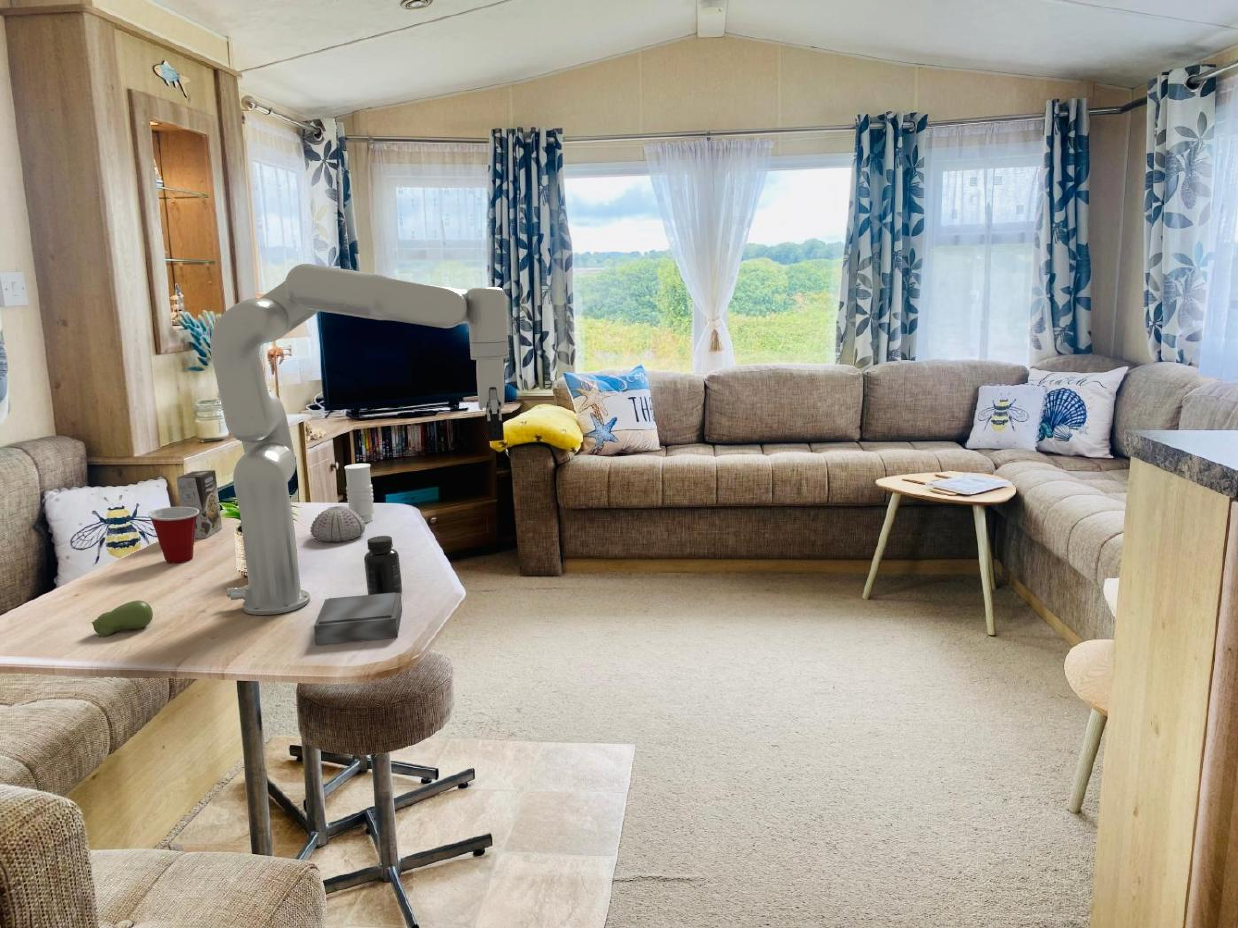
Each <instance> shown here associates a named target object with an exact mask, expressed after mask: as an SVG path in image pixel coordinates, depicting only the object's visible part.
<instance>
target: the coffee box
mask: <svg viewBox="0 0 1238 928" xmlns="http://www.w3.org/2000/svg"><path fill="white" fill-rule="evenodd" d="M217 484H218V483H217V474H216V470H213V469H212V470H211V469H210V470H199V471H197V470H196V471H190V472H188V473H185V474H183V475H181V476H178V477H176V485H177V495H178V502H179V507H192V508H196V509H198V510H199V514H198V516H197V520H196V524H195V536H194V539H207V538H209V537H211V536H213V535H215V534H216V533H218V532H219V531H221V530H222V529H223V524H222V523H223V522H222V515H221V507H220V500H219V492H218V485H217ZM218 502H219V504H218Z"/></svg>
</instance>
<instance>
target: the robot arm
mask: <svg viewBox="0 0 1238 928" xmlns="http://www.w3.org/2000/svg"><path fill="white" fill-rule="evenodd" d="M319 312H322V313H323V312H324V313H331V314H337V315H344V316H351V317H359V318H363V319H370V320H371V319H372V320H377V321H393V322H394V321H395V322H399V323H400V322H403V323H408V324H415V325H421V326H428V327H434V328H442V329H451V328H455V327H456V326H458V325H464V324H468V333H469V334H468V335H469V349H470V351H469V353H470V360H473V361H476V364H475V365H476V367H475V368H476V387H477V389H476V390H477V400H478V402H477V403H478V409H479V410H480V411H483V410H484V409H485V413H484V419H485V420H484V423H485V433H486V438H487V441H488V442H500V441H501V442H503V441H504V440H505V433H504V430H505V429H504V420H503V419H502V418H503V417H502V415H503V414H502V410H503V409H504V407H505V368H504V360H505V359H508V358H509V359H510V347H509V346H510V345H509V332H508V313H507V297H506V292H505V290H504V289H503V288H501V287H497V286H487V287H486V286H485V287H484V286H483V287H482V286H481V287H474V288H470V289H468V288H467V289H464V288H454V287H450V286H448V287H446V286H439V285H431V284H425V283H417V282H412V281H405V280H400V279H395V278H391V277H388V276H386V275H383V274H377V273H373V272H367V271H366V272H365V271H359V270H352V269H345V268H340V267H339V268H338V267H333V266H327V265H319V264H314V263H313V264H312V263H300V264H299V265H295V266H294V267H292V268H291V269H290V270H289V272H288V273H287V275H286V277H285V280H284V281H283V282H281V283H280V284H279V285H277V286H275V287H274V288H272V289H271V290H270V291H268V292H266V293H265V294H264V295H262V296H260V297H257V298H249V299H245V300H242V301H239V302H237V303H235V304H234V305H232V306H231V307H229V308H227V310H226V311H225V312H223V314H221V316H220V317H219V318H218V319H217V321H216V322H215V325H214V326H213V328H212V332H211V335H210V343H209V344H210V345H209V346H210V354H211V361H212V364H213V369H214V373H215V374H214V375H215V378H216V383H217V389H218V390H217V391H218V394H219V398H220V402H221V406H222V411H223V417H224V423H225V426H226V429H227V431H228V432H229V433H230V435H231V436H232V437H233V438H234V439H236V440H237V441H240V442H241V443H242V447H243V452H244V454H243V455H242V456H241V457H240V458H239V459H238V461H237V462H236V464H235V466H234V470H233V474H232V475H233V479H232V480H233V489H234V494H235V497H236V501H237V505H238V511H239V516H240V525H241V532H242V540H243V549H244V559H245V564H246V565H245V566H246V574H247V581H248V582H247V583H248V584H246V585H243V586H242V587H238V586H237V587H235V586H234V587H227V588H226V596H227V598H228V599H229V598H230V601H236V600H243V602H242V604H241V605H242V610H243V612H245V613H247V614H250V615H255V616H268V615H269V616H271V615H278V614H283V613H289V612H292V611H295V610H298V609H301V608H302V607H305V606H306V605H307V604H309V603H310V600H311V596H310V592H308V591H307V590H305V589H301V588H302V587H301V578H300V570H299V569H300V568H299V560H298V559H299V557H298V552H297V551H298V550H297V540H296V532H295V525H294V523H295V522H294V515H293V514H294V513H293V508H292V507H293V506H292V502H291V498H290V492H289V484H288V483H289V481H290V480H291V479H292V477H293V476H294V474H295V471H296V465H297V464H296V463H297V462H296V454H295V449H294V446H293V445H294V444H293V441H292V435H291V430H290V427H289V423H288V418H287V413H286V409H285V407H284V404H283V403H282V401H281V400H280V397H278V396H277V395H276V394H275V393H274V392H272V391H270V390H268V385H267V381H266V378H265V377H266V376H265V369H264V367H263V363H262V360H261V358H260V348H261V346H263V345H264V344H268V343H272V342H275V341H277V340H280V339H282V338H283V337H285V336H286V335H287V334H289V333H290V332H292V331H293V330H295V329H296V328H298V327H299V326H300V325H301V324H303V323H305V322H306V321H308V320H309V319H311V318H312V317H314V316H315V315H316V314H317V313H319Z"/></svg>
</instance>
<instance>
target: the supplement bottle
mask: <svg viewBox="0 0 1238 928" xmlns="http://www.w3.org/2000/svg"><path fill="white" fill-rule="evenodd" d="M393 546H394V544H393V538H392V537H391V536H389V535H378V536H377V535H376V536H373V537H370V538H368V539H367V550H368V552H367V553H366V554H365V555H364V557H363V561H364V562H363V563H364V571H365V579H366V590H367V595H374V594H386V593H401V594H402V592H403V584H402V576H401V575H402V573H401V565H400V555H399V552H398V551H397V550H396V549H394V548H393Z"/></svg>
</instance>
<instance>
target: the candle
mask: <svg viewBox="0 0 1238 928" xmlns="http://www.w3.org/2000/svg"><path fill="white" fill-rule="evenodd" d="M370 468H371V464H370V463H353V464H348V465H345V466H344V470H345V477H346V487H345V490H346V498H347V503H348V508H350V509H351V510H353V511H354V512H356V513H357V514H358V515H359V516H360V517H361V519H363V521H364V522H367V523H369V522H368V521H370V520H373V519H374V518H373V516H372V515H373V514H374V513H375V505H374V493H373V492H374V489H373V488H374V487H373V484H372V481H371V469H370ZM373 521H374V520H373ZM370 522H371V521H370Z"/></svg>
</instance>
